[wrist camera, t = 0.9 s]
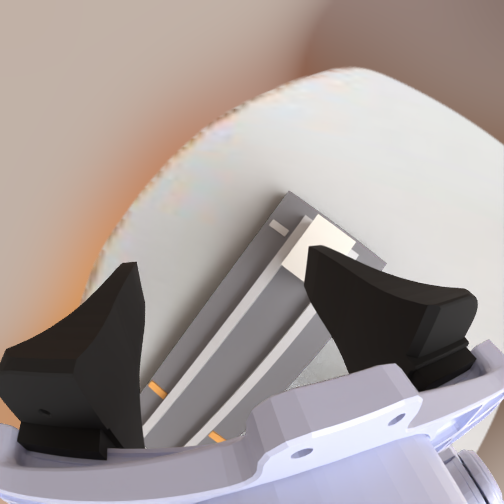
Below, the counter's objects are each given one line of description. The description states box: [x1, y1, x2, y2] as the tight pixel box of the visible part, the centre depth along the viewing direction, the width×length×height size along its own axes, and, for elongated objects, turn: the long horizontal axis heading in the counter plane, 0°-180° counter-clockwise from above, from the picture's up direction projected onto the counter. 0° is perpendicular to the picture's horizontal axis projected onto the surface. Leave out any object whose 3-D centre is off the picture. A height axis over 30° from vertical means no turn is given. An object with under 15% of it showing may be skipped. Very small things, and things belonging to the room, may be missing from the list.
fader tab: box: [281, 214, 356, 282], centre depth 21 cm, size 3×4×5 cm
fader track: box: [140, 191, 387, 449], centre depth 25 cm, size 10×30×3 cm, turn 143°
